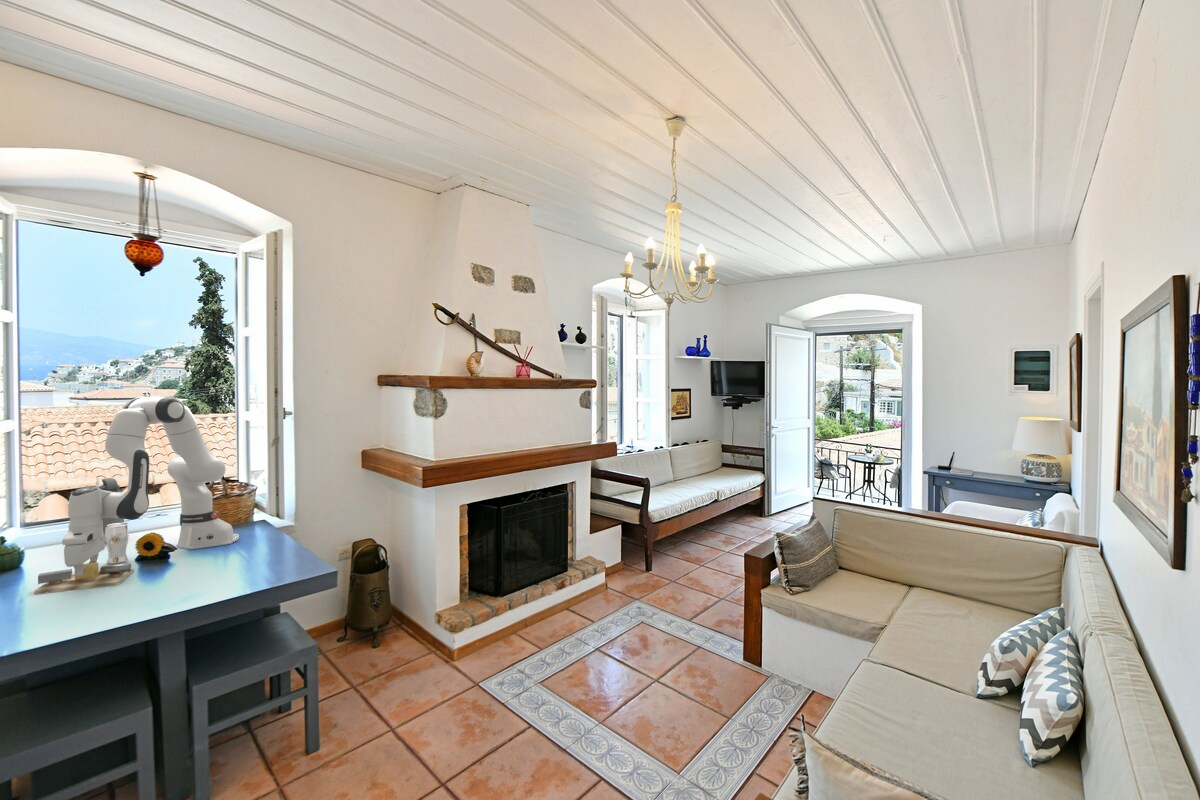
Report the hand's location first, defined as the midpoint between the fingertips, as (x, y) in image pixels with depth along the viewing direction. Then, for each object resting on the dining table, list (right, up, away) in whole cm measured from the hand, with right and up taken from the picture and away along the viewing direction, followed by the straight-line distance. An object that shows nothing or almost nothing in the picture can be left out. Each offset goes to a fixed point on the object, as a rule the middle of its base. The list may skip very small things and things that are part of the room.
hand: (86, 570), depth 188 cm
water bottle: (-34, -2, +45) cm, 57 cm away
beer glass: (-8, -4, +21) cm, 22 cm away
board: (0, -4, 0) cm, 4 cm away
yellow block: (0, -3, 0) cm, 3 cm away
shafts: (0, -2, -1) cm, 2 cm away
